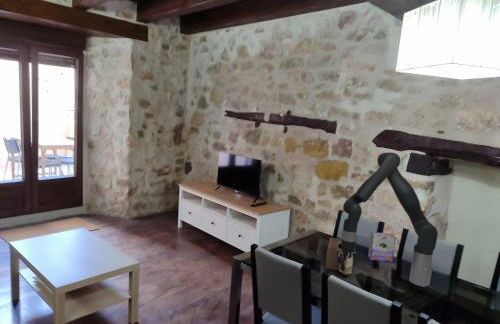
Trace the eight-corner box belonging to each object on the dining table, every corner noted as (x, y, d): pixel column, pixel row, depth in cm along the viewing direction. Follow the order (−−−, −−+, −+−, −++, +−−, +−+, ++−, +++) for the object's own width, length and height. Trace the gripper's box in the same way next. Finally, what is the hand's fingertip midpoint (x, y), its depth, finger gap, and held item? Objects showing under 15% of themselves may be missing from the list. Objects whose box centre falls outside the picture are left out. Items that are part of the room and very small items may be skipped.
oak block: (351, 272, 188) (353, 258, 187) (345, 274, 185) (347, 259, 184) (344, 269, 192) (346, 255, 191) (339, 271, 189) (340, 256, 188)
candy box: (390, 258, 222) (393, 233, 219) (392, 262, 216) (396, 236, 214) (367, 256, 223) (370, 231, 221) (369, 260, 217) (373, 234, 215)
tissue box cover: (351, 273, 196) (353, 255, 195) (325, 268, 200) (327, 251, 199) (351, 256, 220) (353, 241, 219) (328, 252, 224) (330, 237, 223)
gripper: (345, 243, 179) (342, 275, 181) (363, 239, 187) (360, 270, 189) (334, 238, 185) (331, 269, 187) (352, 234, 193) (349, 264, 195)
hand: (345, 269), depth 188 cm, fingers closed on oak block, 4 cm apart
